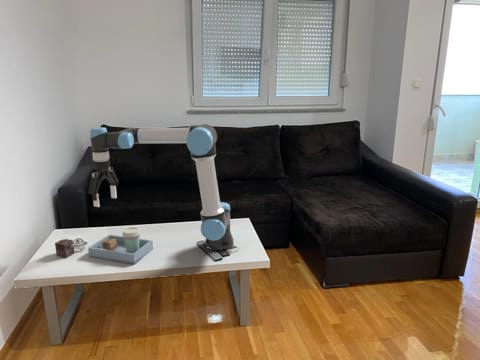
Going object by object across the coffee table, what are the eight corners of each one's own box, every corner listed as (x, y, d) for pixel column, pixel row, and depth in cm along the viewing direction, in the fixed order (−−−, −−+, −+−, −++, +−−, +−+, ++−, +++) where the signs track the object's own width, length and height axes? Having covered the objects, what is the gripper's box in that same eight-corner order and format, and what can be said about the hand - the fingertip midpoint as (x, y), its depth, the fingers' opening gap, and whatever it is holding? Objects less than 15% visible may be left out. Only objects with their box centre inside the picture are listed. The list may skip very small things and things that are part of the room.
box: (65, 258, 187) (63, 245, 185) (56, 256, 189) (54, 243, 187) (74, 253, 192) (73, 240, 190) (65, 251, 194) (63, 238, 192)
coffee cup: (144, 249, 194) (142, 227, 191) (137, 256, 186) (135, 234, 183) (129, 247, 196) (127, 226, 192) (121, 255, 188) (118, 233, 184)
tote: (153, 249, 196) (152, 240, 195) (134, 264, 181) (134, 254, 179) (110, 242, 204) (109, 234, 202) (89, 257, 188) (88, 247, 187)
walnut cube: (117, 248, 196) (116, 239, 194) (111, 252, 191) (110, 243, 190) (108, 246, 197) (107, 237, 196) (102, 250, 192) (101, 241, 191)
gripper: (110, 154, 194) (114, 193, 199) (76, 165, 171) (82, 209, 176) (123, 155, 191) (126, 195, 197) (90, 166, 169) (95, 211, 174)
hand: (105, 202), depth 187 cm, fingers open, 13 cm apart
